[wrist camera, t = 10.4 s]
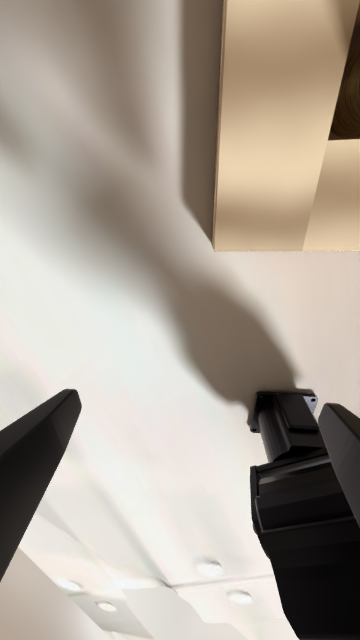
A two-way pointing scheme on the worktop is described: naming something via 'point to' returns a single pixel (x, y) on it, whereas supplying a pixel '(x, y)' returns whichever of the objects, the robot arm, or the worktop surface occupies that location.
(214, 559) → the worktop surface
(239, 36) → the bore block
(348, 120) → the pin
